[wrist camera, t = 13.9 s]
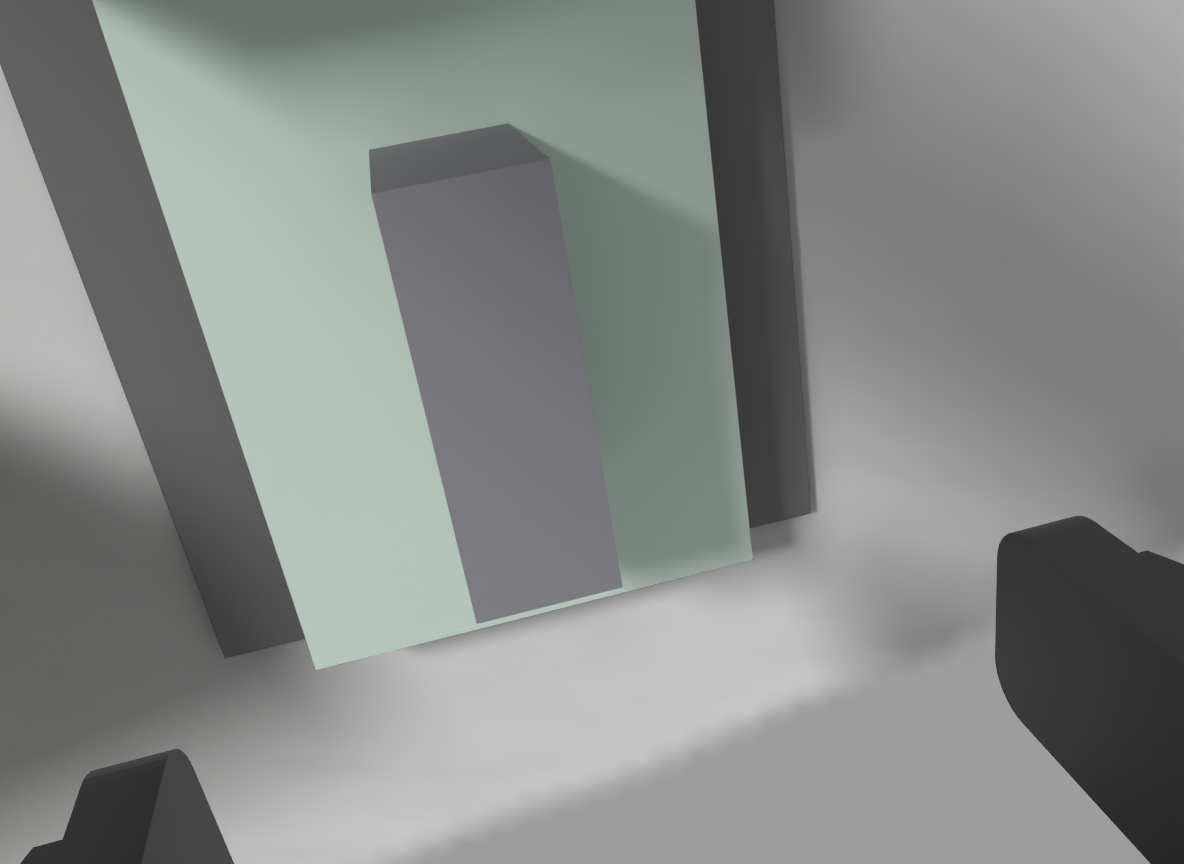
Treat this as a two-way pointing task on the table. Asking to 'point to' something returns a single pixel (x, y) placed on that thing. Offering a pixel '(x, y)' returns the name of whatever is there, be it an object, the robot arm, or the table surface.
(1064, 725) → the robot arm
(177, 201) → the lid
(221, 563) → the mat
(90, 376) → the table surface
